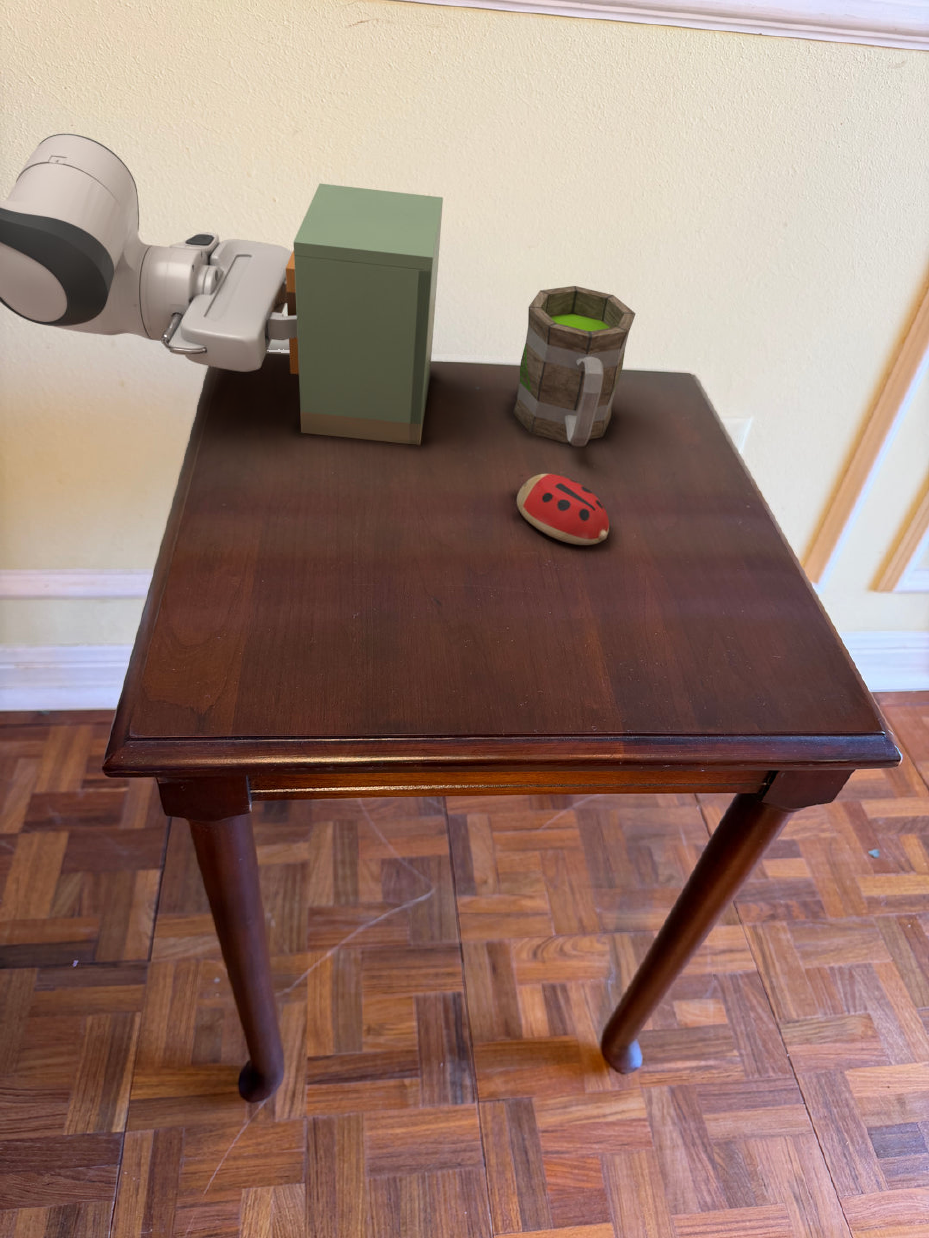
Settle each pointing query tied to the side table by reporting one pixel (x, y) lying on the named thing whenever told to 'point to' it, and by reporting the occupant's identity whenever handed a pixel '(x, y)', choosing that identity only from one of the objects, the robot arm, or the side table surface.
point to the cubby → (366, 311)
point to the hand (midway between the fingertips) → (325, 312)
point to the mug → (571, 363)
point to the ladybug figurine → (563, 509)
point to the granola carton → (292, 313)
